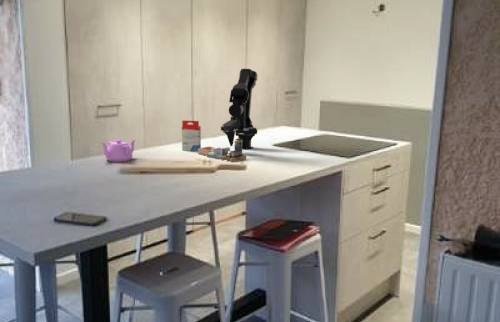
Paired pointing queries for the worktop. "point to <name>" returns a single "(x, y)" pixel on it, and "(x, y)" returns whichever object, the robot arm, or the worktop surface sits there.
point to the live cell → (234, 154)
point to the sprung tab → (224, 151)
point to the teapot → (118, 151)
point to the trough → (234, 158)
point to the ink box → (191, 136)
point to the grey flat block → (215, 153)
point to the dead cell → (238, 144)
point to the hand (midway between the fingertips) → (238, 147)
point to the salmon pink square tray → (204, 150)
